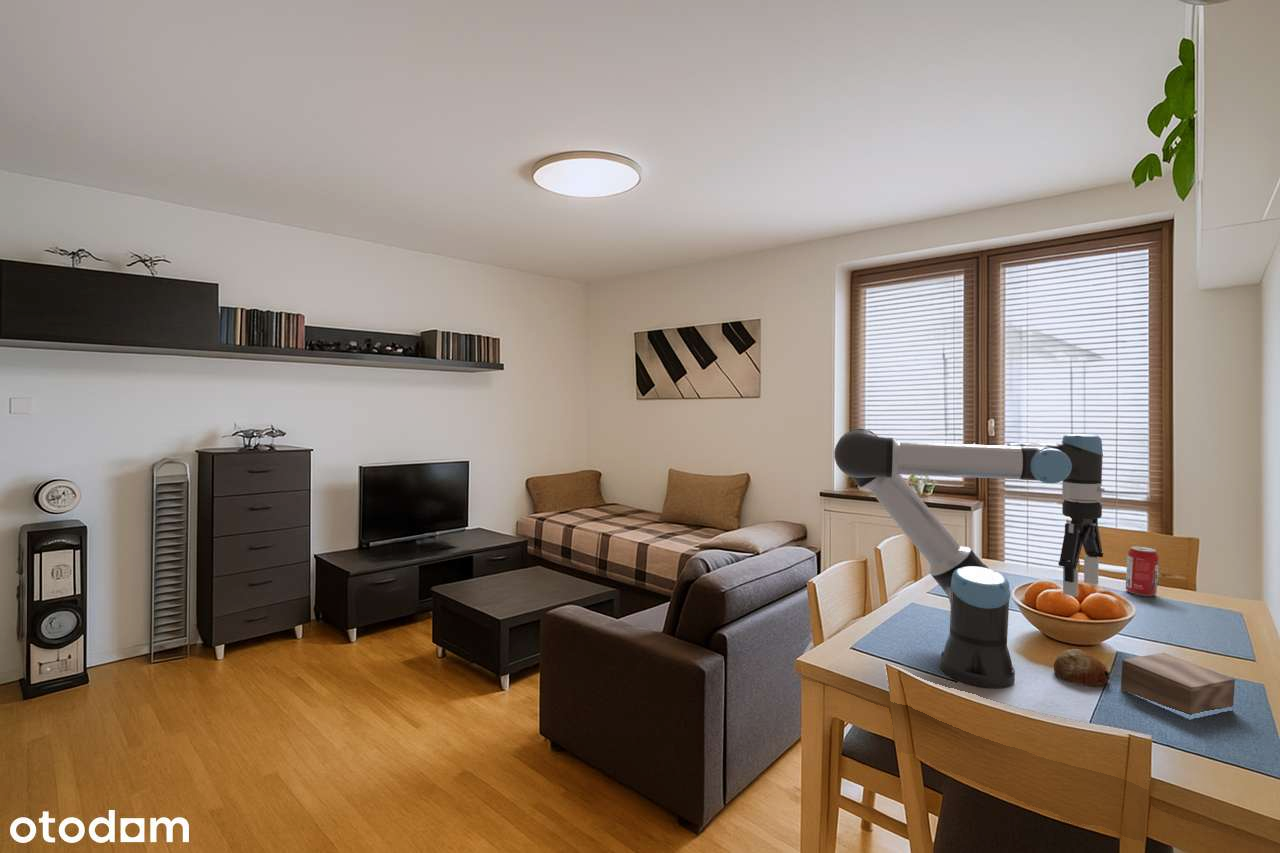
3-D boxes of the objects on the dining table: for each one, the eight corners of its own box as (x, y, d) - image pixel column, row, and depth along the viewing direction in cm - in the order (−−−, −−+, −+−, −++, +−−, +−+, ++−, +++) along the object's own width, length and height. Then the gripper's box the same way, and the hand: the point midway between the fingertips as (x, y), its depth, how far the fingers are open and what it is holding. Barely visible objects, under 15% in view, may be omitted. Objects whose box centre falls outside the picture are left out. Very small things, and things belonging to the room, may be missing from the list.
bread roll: (1064, 680, 145) (1048, 647, 146) (1114, 674, 139) (1097, 639, 140) (1060, 696, 137) (1044, 660, 139) (1113, 690, 131) (1095, 653, 133)
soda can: (1119, 590, 201) (1121, 546, 200) (1136, 588, 203) (1138, 544, 202) (1145, 598, 193) (1148, 552, 192) (1162, 596, 196) (1165, 550, 195)
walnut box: (1189, 721, 120) (1191, 687, 120) (1120, 690, 133) (1122, 659, 132) (1232, 712, 124) (1234, 678, 124) (1162, 682, 137) (1163, 652, 136)
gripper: (1081, 508, 132) (1081, 604, 133) (1118, 495, 147) (1117, 582, 148) (1042, 504, 138) (1042, 596, 139) (1081, 492, 153) (1081, 575, 154)
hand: (1081, 589), depth 143 cm, fingers open, 13 cm apart
